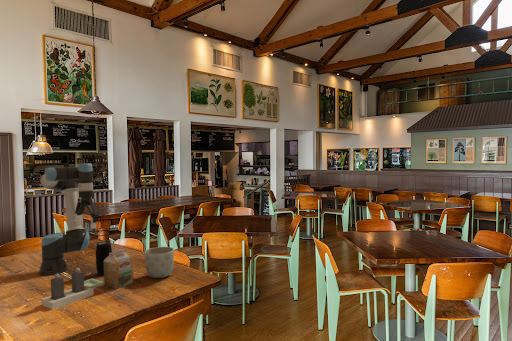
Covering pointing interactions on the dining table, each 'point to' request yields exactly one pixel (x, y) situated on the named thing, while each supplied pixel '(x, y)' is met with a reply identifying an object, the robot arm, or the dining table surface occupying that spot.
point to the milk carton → (118, 269)
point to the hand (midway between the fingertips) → (87, 227)
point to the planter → (159, 261)
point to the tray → (93, 283)
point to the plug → (77, 281)
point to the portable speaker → (102, 255)
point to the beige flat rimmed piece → (67, 298)
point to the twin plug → (57, 287)
